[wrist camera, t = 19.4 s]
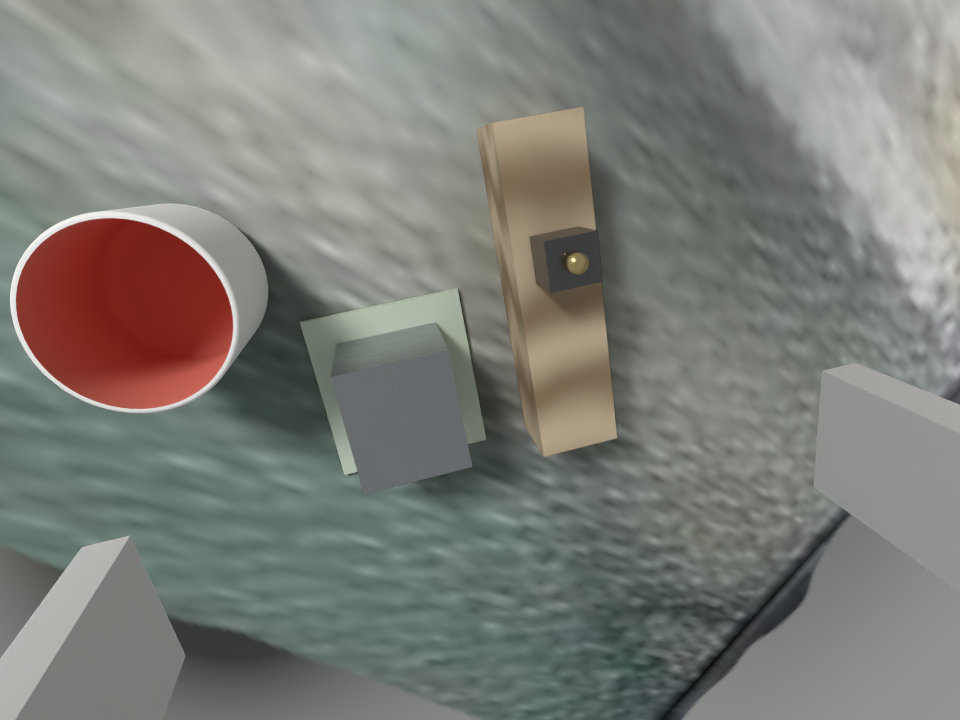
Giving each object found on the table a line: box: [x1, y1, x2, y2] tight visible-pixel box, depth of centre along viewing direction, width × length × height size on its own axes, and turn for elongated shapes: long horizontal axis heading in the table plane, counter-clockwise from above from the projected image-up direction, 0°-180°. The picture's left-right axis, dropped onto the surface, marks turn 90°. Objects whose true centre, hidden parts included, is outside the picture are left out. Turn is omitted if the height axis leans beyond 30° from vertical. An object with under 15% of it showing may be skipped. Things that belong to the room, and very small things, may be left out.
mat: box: [300, 288, 486, 475], centre depth 41 cm, size 12×11×1 cm
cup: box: [10, 204, 268, 413], centre depth 32 cm, size 10×10×10 cm
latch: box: [529, 226, 603, 293], centre depth 33 cm, size 3×3×4 cm
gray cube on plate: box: [331, 322, 472, 494], centre depth 37 cm, size 8×7×7 cm
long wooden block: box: [477, 107, 617, 457], centre depth 38 cm, size 22×6×5 cm, turn 10°
